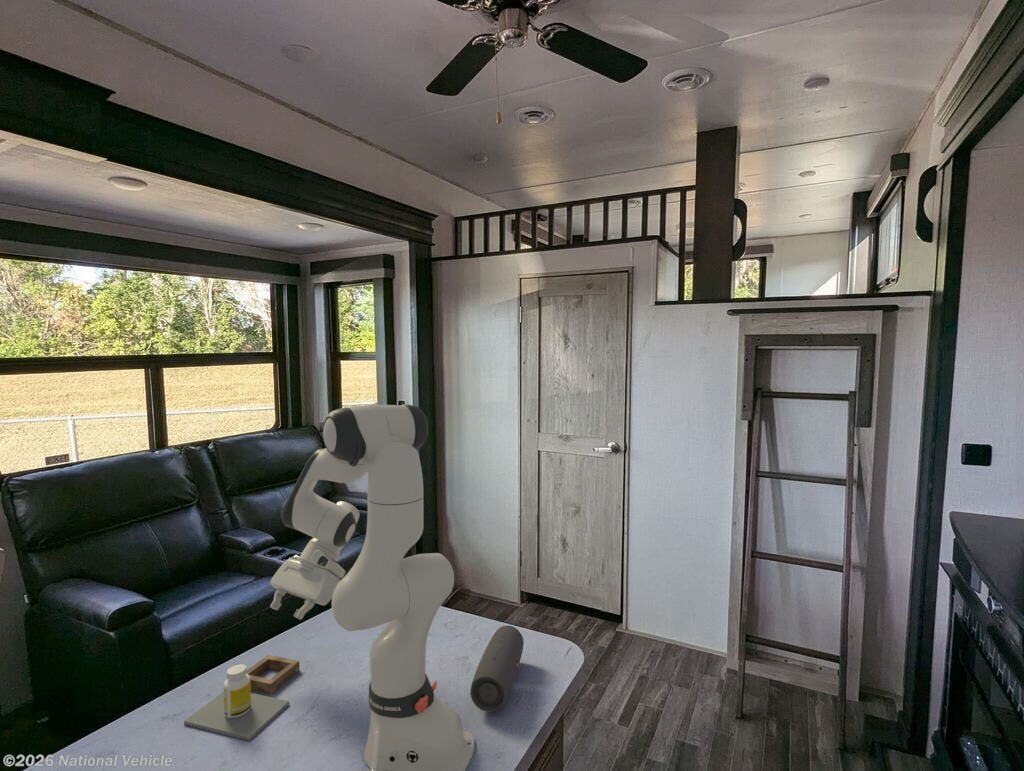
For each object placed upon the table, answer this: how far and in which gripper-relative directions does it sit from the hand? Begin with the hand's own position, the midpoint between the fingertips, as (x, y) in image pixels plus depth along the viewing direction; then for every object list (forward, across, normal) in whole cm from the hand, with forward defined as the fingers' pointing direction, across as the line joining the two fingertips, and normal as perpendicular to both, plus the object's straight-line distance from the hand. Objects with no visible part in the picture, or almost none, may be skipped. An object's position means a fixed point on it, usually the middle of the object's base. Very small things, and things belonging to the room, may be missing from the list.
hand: (285, 613), depth 127 cm
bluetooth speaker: (-5, +46, +32) cm, 56 cm away
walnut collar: (+13, -6, +12) cm, 19 cm away
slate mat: (+22, 0, +4) cm, 22 cm away
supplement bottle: (+21, 0, +3) cm, 22 cm away
